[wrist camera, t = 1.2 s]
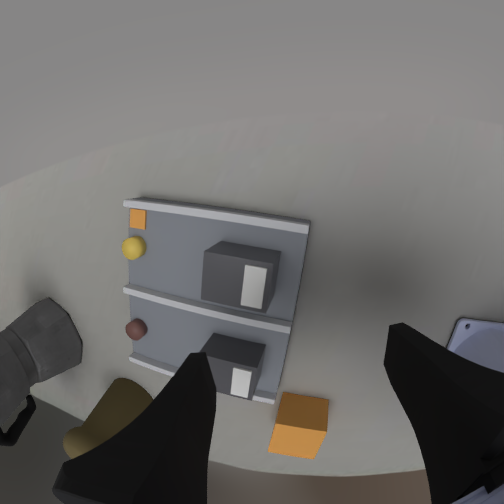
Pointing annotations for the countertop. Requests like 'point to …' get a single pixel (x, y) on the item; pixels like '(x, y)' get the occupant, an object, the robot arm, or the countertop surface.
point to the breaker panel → (190, 281)
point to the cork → (108, 416)
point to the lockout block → (299, 426)
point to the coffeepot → (33, 359)
